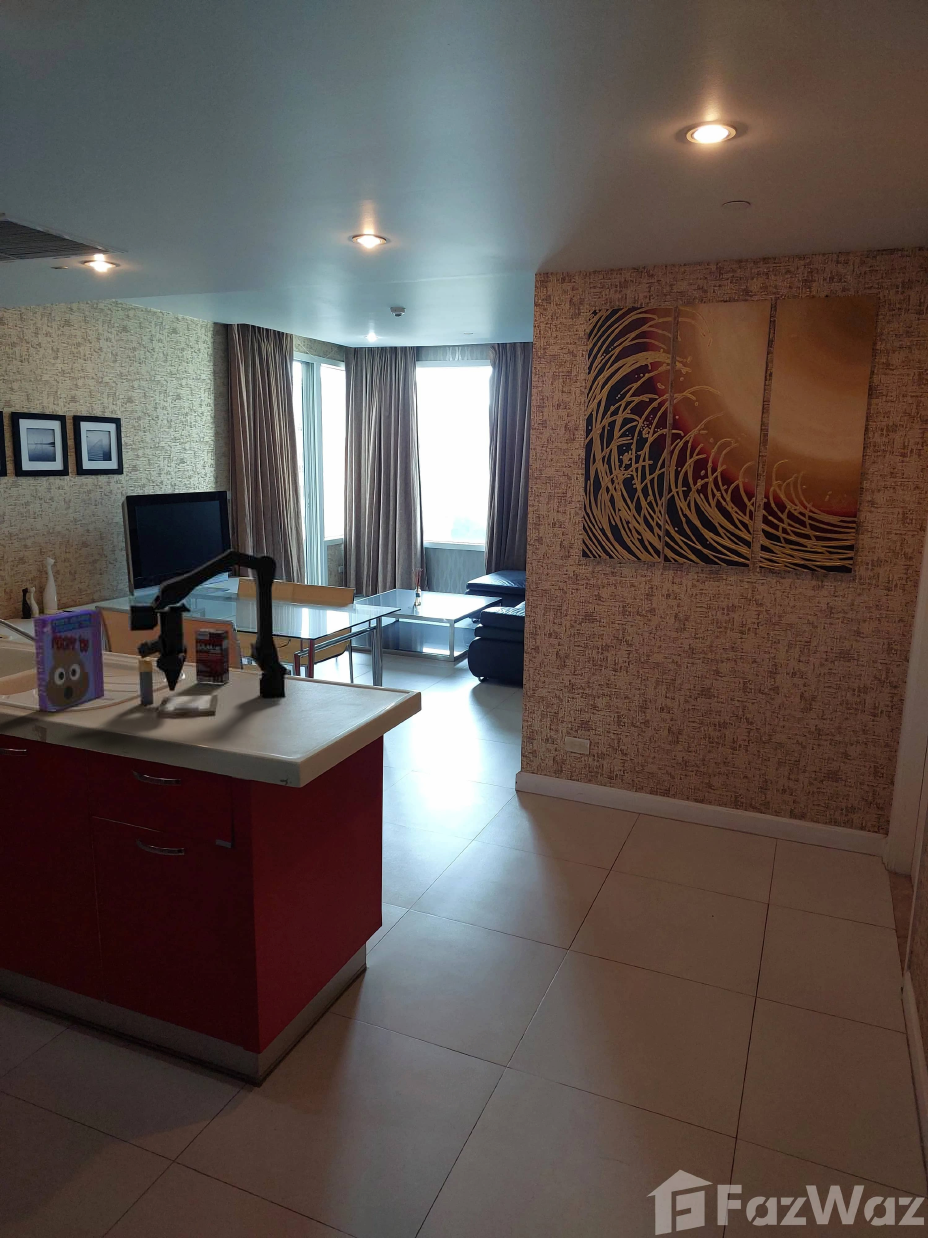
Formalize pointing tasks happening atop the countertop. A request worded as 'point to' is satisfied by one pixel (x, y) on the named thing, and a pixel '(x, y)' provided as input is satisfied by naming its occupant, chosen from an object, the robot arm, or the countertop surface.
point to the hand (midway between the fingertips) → (173, 686)
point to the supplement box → (212, 655)
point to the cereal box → (69, 659)
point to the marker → (146, 681)
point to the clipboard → (187, 706)
